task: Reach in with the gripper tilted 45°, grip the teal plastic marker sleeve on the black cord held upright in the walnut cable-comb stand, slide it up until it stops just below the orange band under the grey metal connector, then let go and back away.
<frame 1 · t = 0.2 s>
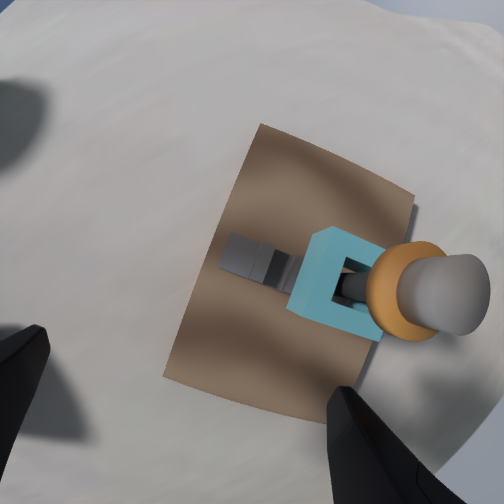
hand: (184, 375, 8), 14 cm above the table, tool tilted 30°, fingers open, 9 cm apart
sleeve: (345, 285, 14), point 9 cm above the table, slide at 0.0 cm
comb stand: (298, 280, 23), on the table
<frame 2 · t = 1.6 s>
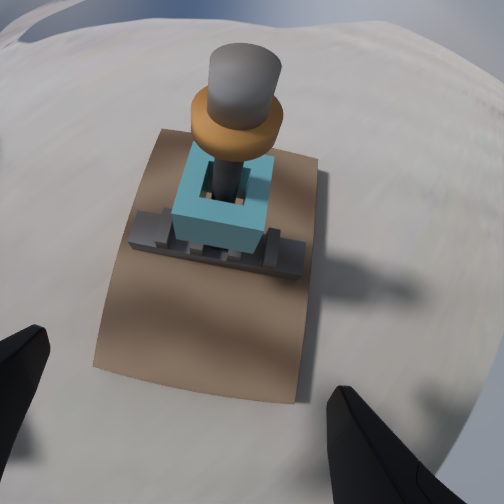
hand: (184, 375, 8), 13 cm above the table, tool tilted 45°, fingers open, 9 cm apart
sleeve: (223, 198, 15), point 9 cm above the table, slide at 0.0 cm
comb stand: (215, 255, 23), on the table
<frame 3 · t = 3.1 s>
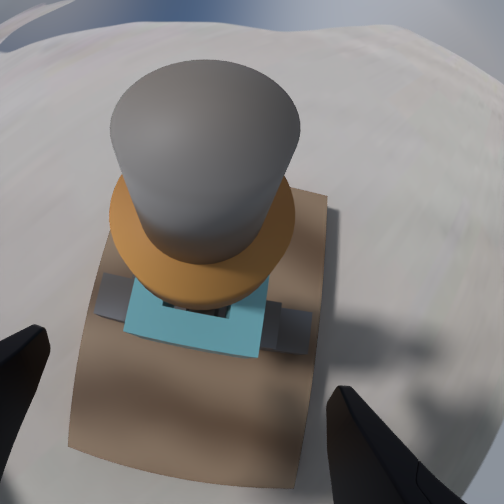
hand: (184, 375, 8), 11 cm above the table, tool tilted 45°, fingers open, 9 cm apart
sleeve: (201, 291, 11), point 9 cm above the table, slide at 0.0 cm
comb stand: (202, 322, 19), on the table
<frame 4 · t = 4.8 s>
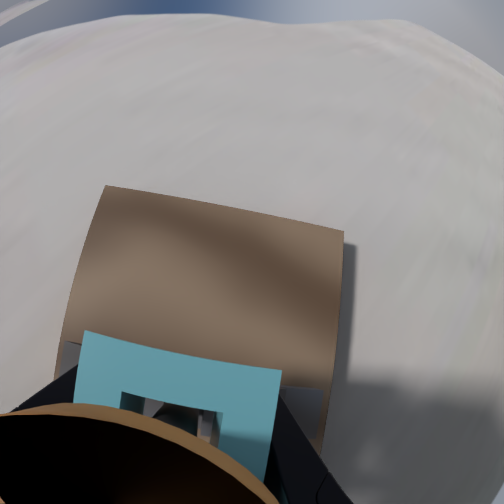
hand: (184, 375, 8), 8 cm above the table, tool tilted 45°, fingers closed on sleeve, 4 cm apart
sleeve: (172, 432, 6), point 9 cm above the table, slide at 0.0 cm, touching gripper
comb stand: (189, 392, 15), on the table
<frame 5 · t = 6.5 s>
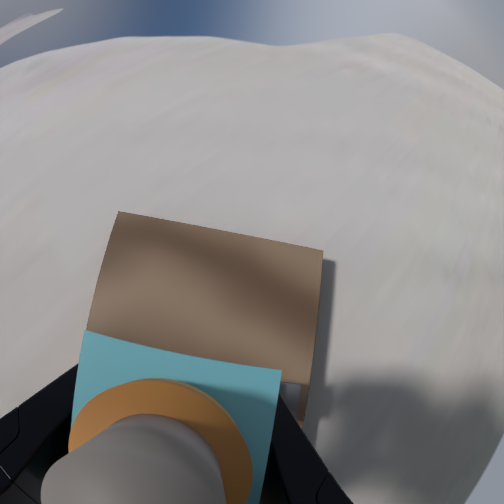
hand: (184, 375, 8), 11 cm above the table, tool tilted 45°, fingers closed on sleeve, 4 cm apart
sleeve: (172, 432, 6), point 12 cm above the table, slide at 3.4 cm, touching gripper
comb stand: (191, 385, 18), on the table
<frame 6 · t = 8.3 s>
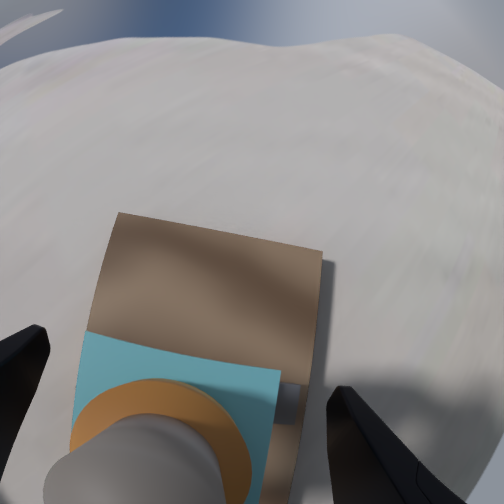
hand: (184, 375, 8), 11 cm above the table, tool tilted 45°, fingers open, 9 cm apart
sleeve: (172, 432, 6), point 12 cm above the table, slide at 3.4 cm
comb stand: (191, 386, 18), on the table
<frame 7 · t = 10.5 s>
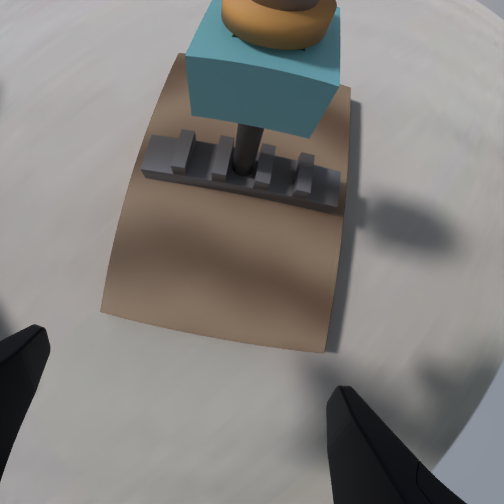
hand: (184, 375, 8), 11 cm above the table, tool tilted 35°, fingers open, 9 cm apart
sleeve: (266, 55, 8), point 12 cm above the table, slide at 3.4 cm
comb stand: (239, 184, 21), on the table
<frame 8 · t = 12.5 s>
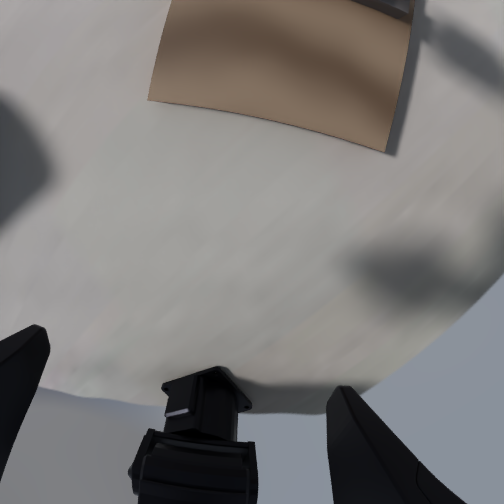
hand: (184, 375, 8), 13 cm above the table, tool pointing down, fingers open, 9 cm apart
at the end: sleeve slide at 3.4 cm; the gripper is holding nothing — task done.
